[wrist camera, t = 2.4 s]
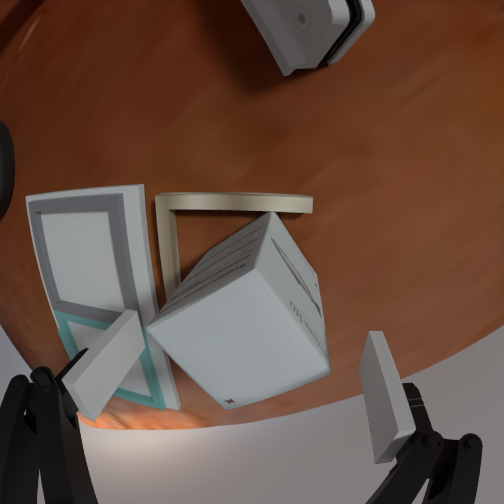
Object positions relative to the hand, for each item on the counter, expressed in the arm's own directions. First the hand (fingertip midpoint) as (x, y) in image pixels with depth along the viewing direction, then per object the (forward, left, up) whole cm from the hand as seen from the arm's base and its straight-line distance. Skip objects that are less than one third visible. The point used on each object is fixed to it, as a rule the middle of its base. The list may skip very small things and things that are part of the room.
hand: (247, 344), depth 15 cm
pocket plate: (-20, -8, -11) cm, 25 cm away
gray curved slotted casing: (+2, +25, -12) cm, 28 cm away
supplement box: (0, 0, -11) cm, 11 cm away
